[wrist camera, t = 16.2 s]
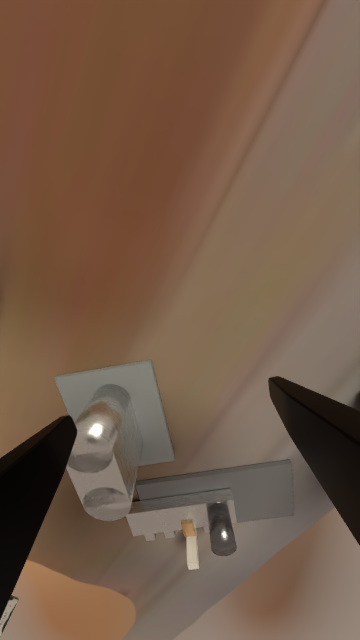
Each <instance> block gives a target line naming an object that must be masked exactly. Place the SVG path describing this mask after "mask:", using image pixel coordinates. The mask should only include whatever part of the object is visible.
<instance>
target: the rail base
mask: <svg viewBox="0 0 360 640" xmlns="http://www.w3.org/2000/svg"><path fill="white" fill-rule="evenodd" d="M135 486H136V489H137V492H138V495H139V498H140V501H144V500H151V499H159V498H166V497H173V496H180V495H187V494H194V493H202V492H209V491H216V490H223V489H230V488H231V492H232V496H233V501H234V507H235V514H236V521H237V523H238V522H246V521H254V520H261V519H269V518H276V517H284V516H292V515H294V512H293V483H292V463H291V461H290V459H289V460H282V461H275V462H268V463H262V464H255V465H248V466H241V467H234V468H227V469H220V470H213V471H206V472H199V473H192V474H185V475H178V476H171V477H164V478H157V479H150V480H143V481H136V485H135ZM194 529H195V536H189V537H186V538H187V564H188V568H189V570H192V569H199V559H198V544H197V530H196V528H194ZM177 531H178V530H177ZM162 533H163V532H162Z"/></svg>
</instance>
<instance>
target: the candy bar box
mask: <svg viewBox="0 0 360 640" xmlns="http://www.w3.org/2000/svg"><path fill="white" fill-rule="evenodd" d="M17 602H18V598H17V597H14V596H12V595H11V597H10V599H9V601H8V604H7V606H6V608H5V611H4V613H3V615H2V618H1V620H0V636H1V634H2V632H3V630H4V628H5V626H6V624H7V622H8V620H9V618H10V616H11V614H12V612H13V610H14V608H15V606H16V604H17Z"/></svg>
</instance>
